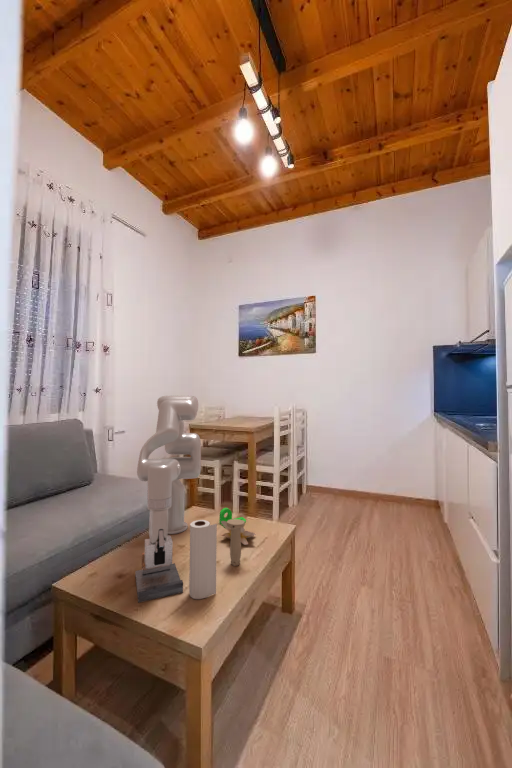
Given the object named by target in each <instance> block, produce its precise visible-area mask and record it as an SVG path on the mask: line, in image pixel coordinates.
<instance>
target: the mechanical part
mask: <svg viewBox="0 0 512 768" xmlns="http://www.w3.org/2000/svg"><path fill="white" fill-rule="evenodd" d="M225 514H226V516H225ZM230 519H233V512H232V510H231V509H229V508H228V507H224V508H222V509H221V510H220V511H219V519H218V520H219V524H220V525H221V526H222V527H223V528H225V527H224V526H223V524H222V523H221V521H226V522H227V521H228V520H230ZM234 519H239V520H243V521H245V523H246V522H247V519H246V518H244V517H243V516H239V517H236V518H234ZM225 529H226V528H225Z"/></svg>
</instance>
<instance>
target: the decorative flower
mask: <svg viewBox="0 0 512 768" xmlns="http://www.w3.org/2000/svg"><path fill="white" fill-rule="evenodd" d="M221 523H222V524H223V526H224V527H225V529H226V530H227V531H228V532H225V533H223V534H220V536H222V537H224V538H227V539H230V540H231V528H230V527H228V526H227V522H226V521H221ZM223 526H222V527H223ZM224 527H223V528H224ZM240 536H241V544H242V545H249V542H248V540H247V539H248V538H252V537H254V536H256V533H255V532H252V531H249V530H245V526H244V527H243V528H241V529H240Z"/></svg>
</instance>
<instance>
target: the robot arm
mask: <svg viewBox="0 0 512 768" xmlns="http://www.w3.org/2000/svg"><path fill="white" fill-rule="evenodd" d="M156 404H157V405H156V406H157V409H158V415H157V422H156V428H155V429H156V430H155V433H154V434H153V435H151V437H150V438H148V439H147V440H146V441H145V443H144V444H143V446H142V447H141V450H140V451H139V457H138V463H137V468H136V469H137V470H136V475H137V478H138V479H139V480H140V481H142V482H147V499H146V502H147V503H146V509H147V510H148V511H149V519H148V520H149V522H148V523H149V524H148V536H149V539H150V541H151V543H152V544H153V543H155V552H154V565H160V564H164V563H165V542H166V541H167V536H169V535H175V534H176V535H177V534H180V533H183V532H185V531H186V530H188V523H187V522H186V521H185V492H186V491H185V485H184V484H183V483H182V481H181V480H182V479H184V480H185V479H189V480H190V479H197V478H199V477H200V475H201V469H202V467H201V466H202V442H201V438H200V435H199V434H198V433H196V432H185V421H193V420H195V419H196V417H197V413H198V410H199V400H198V398H197V397H196V396H194V395H164V396H160V397H159V398H158V399H157V402H156ZM163 446H164V451H165V452H166V454H167V455H175V456H173V457H172V456H171V457H166V458H149V457H150V456H151V454H152V453H153V452H154V451H155V450H157V449H158V448H161V447H163ZM176 455H189V456H176ZM157 539H159V541H157ZM157 544H159V545H158V547H157Z"/></svg>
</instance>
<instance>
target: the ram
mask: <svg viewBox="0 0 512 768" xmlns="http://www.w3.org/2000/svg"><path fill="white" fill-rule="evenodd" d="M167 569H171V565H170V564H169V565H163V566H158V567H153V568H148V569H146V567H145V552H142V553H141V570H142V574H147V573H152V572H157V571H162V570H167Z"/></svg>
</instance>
